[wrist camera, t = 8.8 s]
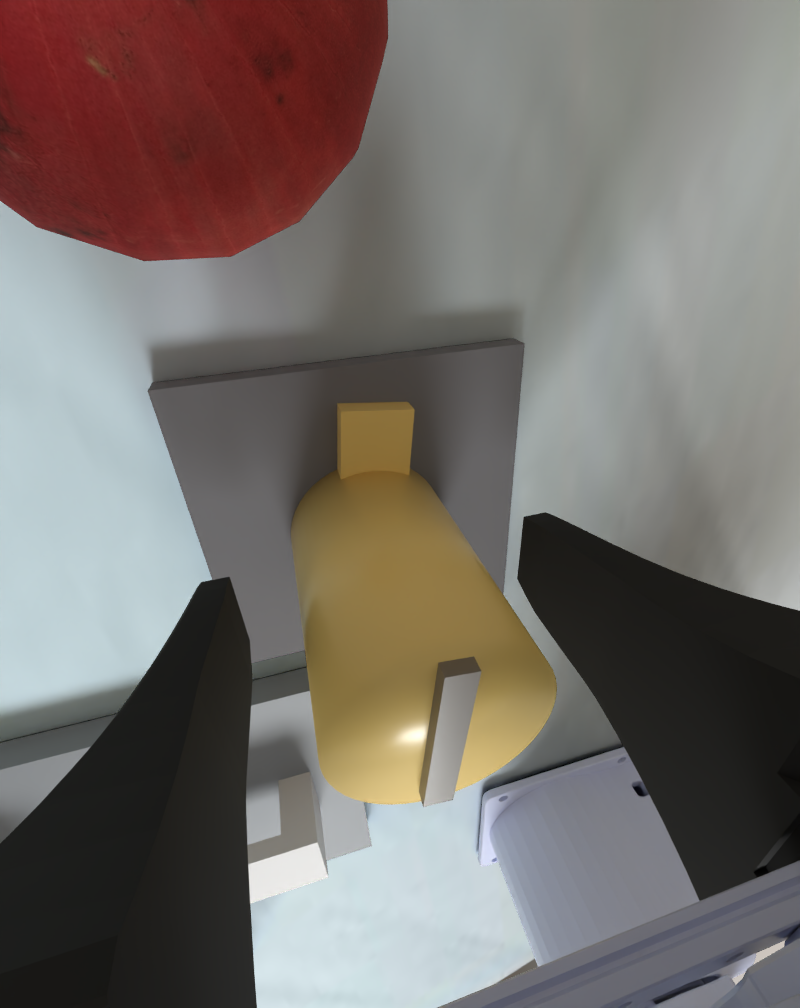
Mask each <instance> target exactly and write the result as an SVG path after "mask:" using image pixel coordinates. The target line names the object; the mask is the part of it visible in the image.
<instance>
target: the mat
mask: <svg viewBox="0 0 800 1008" xmlns="http://www.w3.org/2000/svg"><path fill="white" fill-rule="evenodd" d="M523 355H524V343H522V342H520V341H518V340H516V339H506V340H498V341H489V342H481V343H473V344H465V345H457V346H449V347H441V348H432V349H424V350H416V351H408V352H400V353H392V354H384V355H375V356H367V357H359V358H351V359H343V360H335V361H326V362H318V363H310V364H302V365H294V366H286V367H278V368H269V369H261V370H253V371H245V372H237V373H229V374H220V375H212V376H204V377H196V378H188V379H180V380H172V381H163V382H155V383H152V385H151V386H150V388H149V390H148V393H149V396H150V399H151V402H152V405H153V408H154V410H155V413H156V416H157V419H158V422H159V425H160V428H161V431H162V434H163V437H164V440H165V443H166V445H167V448H168V451H169V454H170V457H171V460H172V463H173V466H174V469H175V472H176V475H177V478H178V480H179V483H180V486H181V489H182V492H183V495H184V498H185V501H186V504H187V507H188V510H189V513H190V515H191V518H192V521H193V524H194V527H195V530H196V533H197V536H198V539H199V542H200V545H201V548H202V550H203V553H204V556H205V559H206V562H207V565H208V568H209V571H210V574H211V577H212V580H215V579H220V578H225V577H230V579H231V582H232V586H233V589H234V592H235V595H236V598H237V601H238V605H239V608H240V611H241V614H242V617H243V620H244V624H245V627H246V630H247V633H248V636H249V639H250V650H251V663H254V662H259V661H263V660H267V659H271V658H275V657H280V656H284V655H288V654H292V653H296V652H300V651H305V647H304V639H303V631H302V623H301V615H300V607H299V599H298V591H297V583H296V575H295V567H294V559H293V551H292V542H291V525H292V520H293V516H294V514H295V511H296V509H297V507H298V505H299V503H300V501H301V500H302V498H303V497H304V495H305V494H306V493H307V492H308V491H309V489H310V488H311V487H312V486H313V485H314V484H316V483H317V482H318V481H319V480H320V479H322V478H323V477H325V476H326V475H328V474H329V473H331V472H333V471H335V470H337V403H374V402H409V404H410V405H411V406H412V407H413V408H414V410H415V411H414V423H413V435H412V447H411V458H410V469H412V470H413V471H415V472H417V473H418V474H419V475H421V476H422V477H423V478H424V479H425V480H426V481H427V482H428V483H429V484H430V486H431V487H432V489H433V490H434V492H435V493H436V495H437V496H438V498H439V499H440V501H441V502H442V504H443V505H444V507H445V508H446V510H447V511H448V513H449V514H450V516H451V517H452V519H453V520H454V522H455V523H456V525H457V526H458V528H459V529H460V531H461V532H462V534H463V535H464V537H465V538H466V540H467V541H468V543H469V544H470V546H471V547H472V549H473V550H474V552H475V553H476V555H477V556H478V558H479V559H480V561H481V562H482V564H483V565H484V567H485V568H486V570H487V571H488V573H489V574H490V576H491V577H492V579H493V580H494V582H495V583H496V585H497V586H498V588H499V589H500V591H501V592H502V594H503V590H504V579H505V567H506V555H507V543H508V532H509V520H510V508H511V496H512V485H513V473H514V461H515V449H516V438H517V426H518V414H519V402H520V391H521V379H522V367H523Z"/></svg>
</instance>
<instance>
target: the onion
mask: <svg viewBox="0 0 800 1008" xmlns="http://www.w3.org/2000/svg"><path fill="white" fill-rule="evenodd" d="M387 40H388V9H387V0H0V201H1V202H3V203H4V204H6V205H7V206H8V207H10V208H11V209H12V210H14V211H15V212H17V213H18V214H19V215H21V216H22V217H24V218H25V219H26V220H28V221H29V222H31V223H32V224H33V225H35V226H36V227H38V228H42V229H45V230H48V231H51V232H54V233H57V234H61V235H64V236H67V237H70V238H73V239H76V240H80V241H83V242H86V243H89V244H92V245H95V246H98V247H102V248H105V249H108V250H111V251H114V252H117V253H121V254H124V255H127V256H130V257H133V258H136V259H140V260H143V261H156V260H175V259H195V258H214V257H231V256H233V255H235V254H237V253H239V252H241V251H243V250H245V249H247V248H249V247H250V246H252V245H254V244H256V243H258V242H260V241H262V240H264V239H266V238H268V237H270V236H272V235H274V234H276V233H278V232H280V231H282V230H284V229H286V228H288V227H289V226H291V225H293V224H295V223H297V222H299V221H300V220H301V219H302V218H303V217H304V215H305V214H306V213H307V212H308V211H309V209H310V208H311V207H312V206H313V205H314V203H315V202H316V201H317V200H318V199H319V198H320V196H321V195H322V194H323V193H324V192H325V190H326V189H327V188H328V187H329V186H330V184H331V183H332V182H333V181H334V180H335V178H336V177H337V176H338V175H339V174H340V173H341V171H342V170H343V169H344V168H345V167H346V165H347V164H348V163H349V162H350V161H351V159H352V158H353V157H354V155H355V153H356V151H357V150H358V148H359V144H360V141H361V137H362V133H363V130H364V126H365V123H366V119H367V115H368V112H369V108H370V105H371V101H372V97H373V94H374V90H375V87H376V83H377V79H378V76H379V72H380V69H381V65H382V62H383V57H384V53H385V49H386V44H387Z"/></svg>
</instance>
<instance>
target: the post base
mask: <svg viewBox="0 0 800 1008" xmlns="http://www.w3.org/2000/svg"><path fill="white" fill-rule="evenodd" d="M116 715H117V714H115V715H111V716H107V717H103V718H99V719H95V720H91V721H87V722H83V723H79V724H75V725H71V726H67V727H62V728H58V729H54V730H50V731H46V732H42V733H38V734H34V735H30V736H26V737H22V738H18V739H14V740H10V741H6V742H2V743H0V843H1V842H2V841H3V840H4V839H5V838H6V837H7V836H8V835H9V834H10V833H11V832H12V831H13V830H14V829H15V828H16V827H17V826H18V825H19V824H20V823H21V822H22V821H23V820H24V819H25V818H26V817H27V816H28V815H29V814H30V813H31V812H32V811H33V810H34V809H35V808H36V807H37V806H38V805H39V804H40V803H41V802H42V801H43V800H44V799H45V797H46V796H47V795H48V794H49V793H50V792H51V791H52V790H53V789H54V788H55V786H56V785H57V784H58V783H59V782H60V781H61V780H62V779H63V778H64V777H65V775H66V774H67V773H68V772H69V771H70V770H71V769H72V768H73V767H74V766H75V764H76V763H77V762H78V761H79V760H80V759H81V758H82V756H83V755H84V754H85V753H86V752H87V751H88V749H89V748H90V747H91V746H92V745H93V743H94V742H95V741H96V740H97V739H98V737H99V736H100V735H101V734H102V732H103V731H104V730H105V729H106V727H107V726H108V725H109V724H110V722H111V721H112V720H113V718H114V717H115V716H116ZM246 815H247V845H248V868H249V890H250V904H251V903H254V902H257V901H260V900H263V899H266V898H269V897H272V896H275V895H278V894H281V893H284V892H287V891H290V890H293V889H296V888H299V887H302V886H305V885H308V884H311V883H314V882H317V881H320V880H323V879H326V878H328V870H327V862H326V861H327V860H330V859H333V858H336V857H339V856H343V855H346V854H349V853H352V852H355V851H358V850H361V849H364V848H367V847H370V846H372V845H371V839H370V834H369V828H368V822H367V817H366V811H365V806H364V802H363V801H359V800H355V799H352V798H350V797H347V796H345V795H343V794H342V793H340V792H338V791H337V790H335V789H334V788H333V787H332V786H331V785H330V784H329V783H328V782H327V780H326V779H325V778H324V776H323V774H322V772H321V769H320V766H319V760H318V752H317V744H316V736H315V728H314V720H313V712H312V704H311V696H310V688H309V680H308V672H307V667H306V668H302V669H298V670H294V671H290V672H286V673H282V674H278V675H274V676H270V677H266V678H262V679H257V680H253V681H252V698H251V716H250V732H249V748H248V764H247V782H246Z"/></svg>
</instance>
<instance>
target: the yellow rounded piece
mask: <svg viewBox="0 0 800 1008" xmlns="http://www.w3.org/2000/svg"><path fill="white" fill-rule="evenodd" d="M414 411H415V410H414V408H413V407H412V406H411V405H410V404H409V402H374V403H337V470H335V471H333V472H331V473H329V474H328V475H326V476H325V477H323V478H322V479H320V480H319V481H318V482H317V483H316V484H314V485H313V486H312V487H311V488H310V489H309V491H308V492H307V493H306V494H305V495H304V497H303V498H302V500H301V501H300V503H299V505H298V507H297V509H296V511H295V514H294V516H293V520H292V525H291V542H292V551H293V559H294V567H295V575H296V583H297V591H298V599H299V607H300V615H301V623H302V631H303V639H304V647H305V655H306V663H307V672H308V680H309V688H310V696H311V704H312V712H313V720H314V728H315V736H316V744H317V752H318V760H319V766H320V769H321V772H322V774H323V776H324V778H325V779H326V780H327V782H328V783H329V784H330V785H331V786H332V787H333V788H334V789H335V790H337V791H338V792H340V793H342V794H343V795H345V796H347V797H350V798H352V799H355V800H359V801H363V802H367V803H374V804H406V803H413V802H419V801H422V804H423V807H426V806H430V805H434V804H438V803H442V802H446V801H450V800H453V798H454V793H455V791H458V790H460V789H462V788H465V787H467V786H469V785H472V784H474V783H476V782H478V781H480V780H482V779H483V778H485V777H487V776H489V775H490V774H492V773H494V772H495V771H497V770H498V769H500V768H501V767H503V766H504V765H506V764H507V763H508V762H510V761H511V760H512V759H513V758H515V757H516V756H517V755H518V754H519V753H521V752H522V751H523V750H524V749H525V748H526V747H527V746H528V745H529V744H530V743H531V742H532V741H533V739H534V738H535V737H536V736H537V735H538V733H539V732H540V731H541V729H542V728H543V727H544V725H545V723H546V721H547V720H548V718H549V716H550V714H551V712H552V709H553V707H554V703H555V699H556V692H557V685H556V678H555V675H554V672H553V669H552V668H551V666H550V665H549V663H548V661H547V660H546V658H545V657H544V655H543V654H542V652H541V651H540V649H539V648H538V646H537V645H536V643H535V642H534V640H533V639H532V637H531V636H530V634H529V633H528V631H527V630H526V628H525V627H524V625H523V624H522V622H521V621H520V619H519V618H518V616H517V615H516V613H515V612H514V610H513V609H512V607H511V606H510V604H509V603H508V601H507V600H506V598H505V597H504V595H503V594H502V592H501V591H500V589H499V588H498V586H497V585H496V583H495V582H494V580H493V579H492V577H491V576H490V574H489V573H488V571H487V570H486V568H485V567H484V565H483V564H482V562H481V561H480V559H479V558H478V556H477V555H476V553H475V552H474V550H473V549H472V547H471V546H470V544H469V543H468V541H467V540H466V538H465V537H464V535H463V534H462V532H461V531H460V529H459V528H458V526H457V525H456V523H455V522H454V520H453V519H452V517H451V516H450V514H449V513H448V511H447V510H446V508H445V507H444V505H443V504H442V502H441V501H440V499H439V498H438V496H437V495H436V493H435V492H434V490H433V489H432V487H431V486H430V484H429V483H428V482H427V481H426V480H425V479H424V478H423V477H422V476H421V475H419V474H418V473H417V472H415V471H413V470H412V469H410V458H411V447H412V435H413V423H414Z"/></svg>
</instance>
